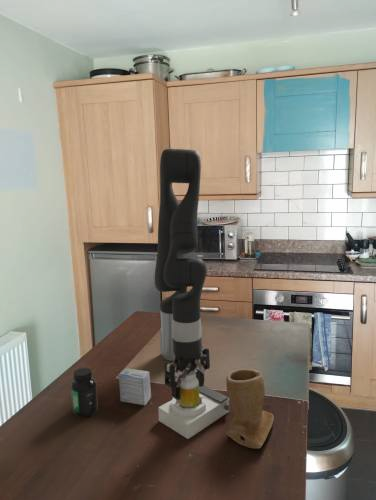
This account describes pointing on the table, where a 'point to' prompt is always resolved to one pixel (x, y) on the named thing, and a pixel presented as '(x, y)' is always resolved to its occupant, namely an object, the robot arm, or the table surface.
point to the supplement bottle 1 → (84, 393)
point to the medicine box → (135, 386)
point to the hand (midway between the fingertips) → (188, 392)
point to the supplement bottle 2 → (189, 391)
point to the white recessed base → (194, 412)
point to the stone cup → (248, 408)
